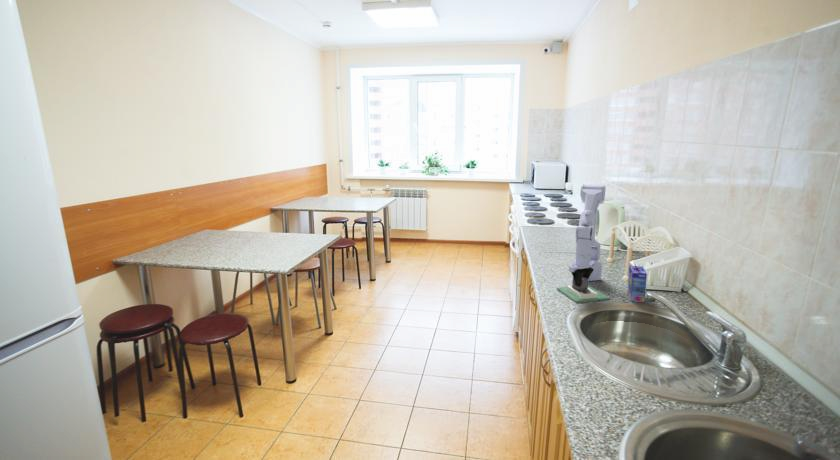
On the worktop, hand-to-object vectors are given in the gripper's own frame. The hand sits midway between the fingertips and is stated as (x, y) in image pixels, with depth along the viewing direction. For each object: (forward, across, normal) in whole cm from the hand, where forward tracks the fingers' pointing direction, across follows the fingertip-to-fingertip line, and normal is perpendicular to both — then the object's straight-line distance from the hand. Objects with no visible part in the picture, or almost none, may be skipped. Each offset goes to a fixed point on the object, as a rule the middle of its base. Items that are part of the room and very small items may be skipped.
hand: (580, 285), depth 169 cm
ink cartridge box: (+4, -16, +14) cm, 22 cm away
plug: (+3, 0, 0) cm, 3 cm away
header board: (+4, -1, 0) cm, 4 cm away
